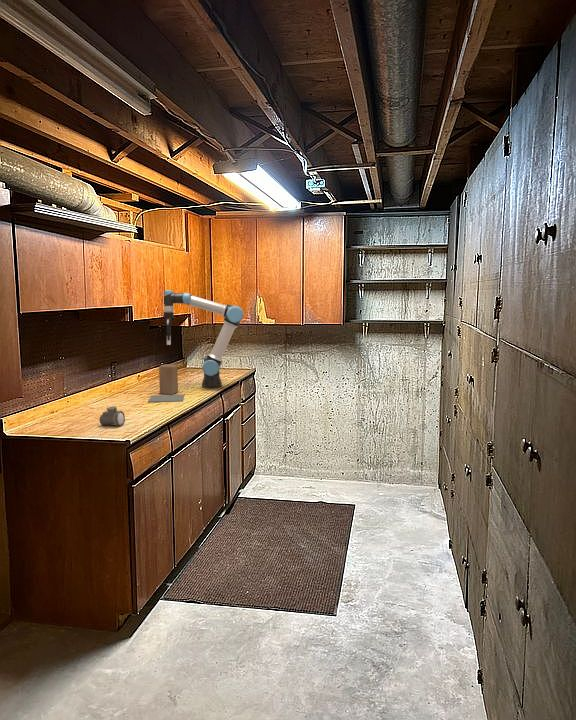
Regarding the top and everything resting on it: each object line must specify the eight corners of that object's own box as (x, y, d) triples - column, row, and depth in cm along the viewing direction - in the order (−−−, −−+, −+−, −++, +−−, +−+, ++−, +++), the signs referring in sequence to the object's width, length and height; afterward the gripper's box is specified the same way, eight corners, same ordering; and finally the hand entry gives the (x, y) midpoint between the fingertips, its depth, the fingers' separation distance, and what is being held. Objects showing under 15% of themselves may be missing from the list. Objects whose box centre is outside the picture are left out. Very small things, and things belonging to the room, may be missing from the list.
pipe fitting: (127, 423, 294) (123, 404, 292) (119, 428, 286) (115, 409, 285) (107, 424, 297) (103, 406, 295) (99, 429, 289) (95, 410, 288)
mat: (184, 395, 379) (184, 394, 379) (182, 401, 357) (182, 400, 357) (151, 396, 376) (151, 395, 376) (147, 402, 354) (147, 401, 354)
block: (172, 394, 381) (172, 366, 379) (159, 394, 383) (158, 365, 381) (178, 392, 391) (177, 364, 389) (165, 391, 393) (164, 364, 391)
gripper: (163, 311, 400) (164, 344, 403) (162, 312, 387) (162, 345, 390) (174, 311, 401) (174, 343, 404) (172, 312, 388) (173, 345, 391)
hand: (168, 344), depth 397 cm, fingers closed
